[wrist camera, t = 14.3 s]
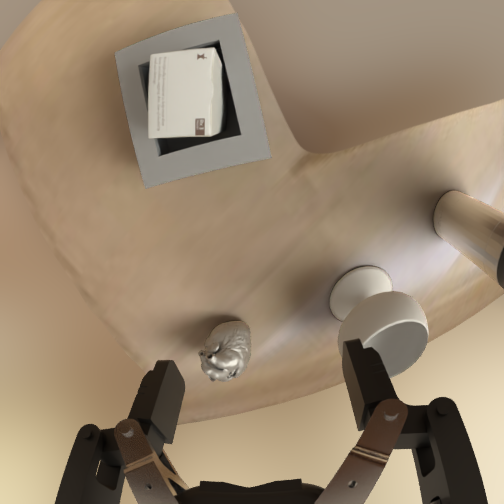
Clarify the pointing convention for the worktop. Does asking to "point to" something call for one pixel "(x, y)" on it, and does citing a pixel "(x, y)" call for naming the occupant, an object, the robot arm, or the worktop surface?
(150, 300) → the worktop surface
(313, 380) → the worktop surface
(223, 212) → the worktop surface
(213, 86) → the skincare box
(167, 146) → the open gray box
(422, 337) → the chalice
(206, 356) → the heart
